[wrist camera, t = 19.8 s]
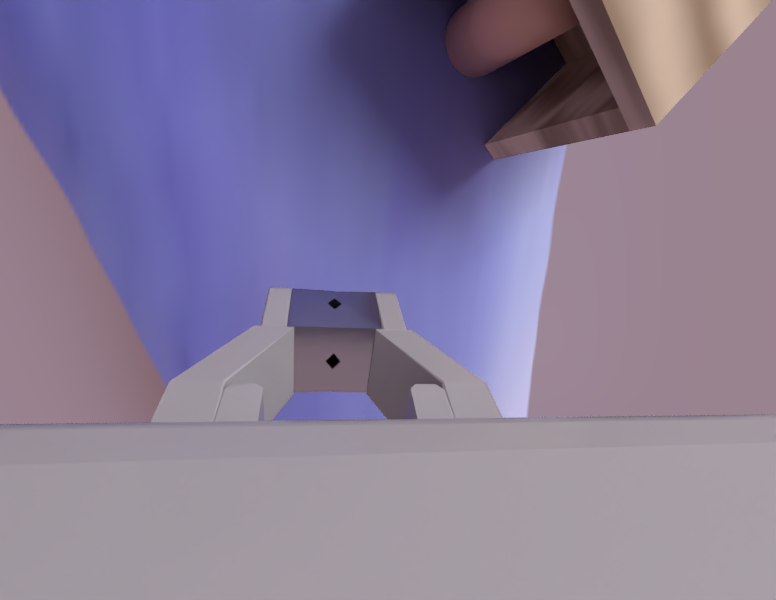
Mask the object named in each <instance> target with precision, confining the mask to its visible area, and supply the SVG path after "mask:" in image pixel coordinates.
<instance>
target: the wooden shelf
mask: <svg viewBox="0 0 776 600" xmlns="http://www.w3.org/2000/svg"><path fill="white" fill-rule="evenodd" d="M569 1H570V3H571V6H572V8H573V10H574V12H575V14H576V16H577V18H578V21H579V24H578V25H577V26H575V27H574V28H572V29H570V30H568V31H566V32H564V33H563V34H561V35H559V36H557V37H555V38H553V39H554V41H555V43H556V45H557V47H558V49H559V51H560V53H561V55H562V57H563V59H564V61H565V64H564V65H563V66H562V67H561V68H560V69H559V70H558V71H557V72H556V73H555V74H554V75H553V76H552V77H551V78H550V79H549V80H548V81H547V82H546V83H545V84H544V85H543V86H542V87H541V88H540V89H539V90H538V91H537V92H536V94H535V95H534V96H533V97H532V98H531V99H530V100H529V101H528V102H527V103H526V104H525V105H524V106H523V107H522V108H521V109H520V110H519V111H518V112H517V113H516V114H515V115H514V116H513V117H512V118H511V119H510V120H509V121H508V122H507V123H506V124H505V125H504V126H503V127H502V128H501V129H500V130H499V131H498V132H497V133H496V134H495V135H494V136H493V137H492V138H491V139H490V140H489V141H488V142H487V143H486V144H485V147H486V148H487V150H488V151H489V153H490V154H491V156H492V157H493V159H499V158H504V157H509V156H514V155H518V154H523V153H528V152H533V151H537V150H542V149H547V148H552V147H556V146H561V145H566V144H571V143H576V142H580V141H585V140H589V139H595V138H599V137H604V136H609V135H613V134H618V133H623V132H628V131H633V130H638V129H642V128H647V127H652V126H656V125H657V124H658V123H659V122H660V121H661V120H662V118H664V116H665V115H666V114H667V113H668V112H669V111H670V110H671V109H672V108H673V107H674V106H675V105H676V103H677V102H678V101H679V100H680V99H681V98H682V97H683V96H684V95H685V94H686V93H687V92H688V90H690V88H691V87H692V86H693V85H694V84H695V83H696V82H697V81H698V80H699V79H700V78H701V76H702V75H703V74H704V73H705V72H706V71H707V70H708V69H709V68H710V67H711V66H712V65H713V64H714V62H715V61H716V60H717V59H718V58H719V57H720V56H721V55H722V54H723V53H724V52H725V50H727V48H728V47H729V46H730V45H731V44H732V43H733V42H734V41H735V40H736V39H737V38H738V36H739V35H740V34H741V33H742V32H743V31H744V30H745V29H746V28H747V27H748V26H749V25H750V24H751V22H752V21H753V20H754V19H755V18H756V17H757V16H758V15H759V14H760V13H761V12H762V10H764V8H765V7H766V6H767V5H768V4H769V3H770V2H771V1H772V0H569Z"/></svg>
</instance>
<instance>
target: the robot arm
mask: <svg viewBox="0 0 776 600" xmlns="http://www.w3.org/2000/svg"><path fill="white" fill-rule="evenodd" d="M329 391H331V392H367V395H368V396H369V397H370V399H371V400H372V401H373V402H374V403H375V405H376V406H377V407H378V408H379V410H380V411H381V412H382V413H383V414H384V416H385V417H386V418H387V419H377V420H300V421H272V419H273V418H274V417H275V416H276V415H277V413H278V412H279V411H280V410H281V409H282V407H283V406H284V405H285V404H286V403H287V401H288V400H289V399H290V398H291V397H292V395H293V392H329ZM0 600H776V414H770V415H769V414H767V415H766V414H762V415H693V416H692V415H690V416H689V415H686V416H609V417H532V418H531V417H528V418H502V415H501V413H500V411H499V409H498V407H497V405H496V403H495V401H494V399H493V397H492V394H491V392H490V390H489V388H488V386H487V384H486V383H485V382H484V381H482V380H481V379H480V378H478V377H477V376H475V375H474V374H473V373H471V372H470V371H468V370H467V369H466V368H464V367H463V366H461V365H460V364H459V363H457V362H456V361H454V360H453V359H452V358H450V357H449V356H447V355H446V354H445V353H443V352H442V351H440V350H439V349H438V348H436V347H435V346H433V345H432V344H431V343H429V342H428V341H426V340H425V339H424V338H422V337H421V336H419V335H418V334H417V333H415V332H414V331H412V330H406V327H405V324H404V320H403V317H402V314H401V310H400V307H399V303H398V300H397V297H396V294H395V293H375V292H335V291H325V290H309V289H294V288H293V289H291V288H274V287H271V288H270V289H269V290H268V295H267V299H266V303H265V308H264V312H263V316H262V321H261V325H260V326H253V327H251V328H250V329H248V330H247V331H245V332H244V333H242V334H241V335H239V336H238V337H236V338H234V339H233V340H231V341H230V342H228V343H227V344H225V345H224V346H222V347H221V348H219V349H218V350H216V351H215V352H213V353H212V354H210V355H209V356H207V357H206V358H204V359H203V360H201V361H200V362H198V363H197V364H195V365H194V366H192V367H191V368H189V369H187V370H186V371H184V372H183V373H181V374H180V375H178V376H177V377H175V378H174V379H172V380H171V381H170V382H169V384H168V386H167V388H166V390H165V392H164V394H163V396H162V399H161V401H160V403H159V405H158V407H157V409H156V411H155V414H154V416H153V418H152V420H151V422H150V423H148V422H145V423H75V424H73V423H71V424H70V423H67V424H0Z"/></svg>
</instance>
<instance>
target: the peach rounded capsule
mask: <svg viewBox="0 0 776 600" xmlns="http://www.w3.org/2000/svg"><path fill="white" fill-rule="evenodd" d="M578 24H579V21H578V18H577V16H576V14H575V12H574V10H573V8H572V6H571V3H570V1H569V0H468V1H467V2H466V3H465V4H464V5H463V6H462V7H461V8H459V9H458V10H457V11H456V12H455V13H454V14H453V15H452V17H451V18H450V20H449V22H448V25H447V29H446V35H445V43H446V49H447V53H448V56H449V58H450V60H451V62H452V64H453V65H454V67H455V68H456V69H457V70H458V71H459V72H460V73H462V74H463V75H465V76H467V77H470V78H480V77H483V76H486V75H487V74H489V73H491V72H493V71H495V70H497V69H498V68H500V67H502V66H504V65H506V64H508V63H509V62H511V61H513V60H515V59H517V58H519V57H520V56H522V55H524V54H526V53H528V52H530V51H531V50H533V49H535V48H537V47H539V46H541V45H542V44H544V43H546V42H548V41H550V40H552V39H553V38H555V37H557V36H559V35H561V34H563V33H564V32H566V31H568V30H570V29H572V28H574V27H575V26H577V25H578Z"/></svg>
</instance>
